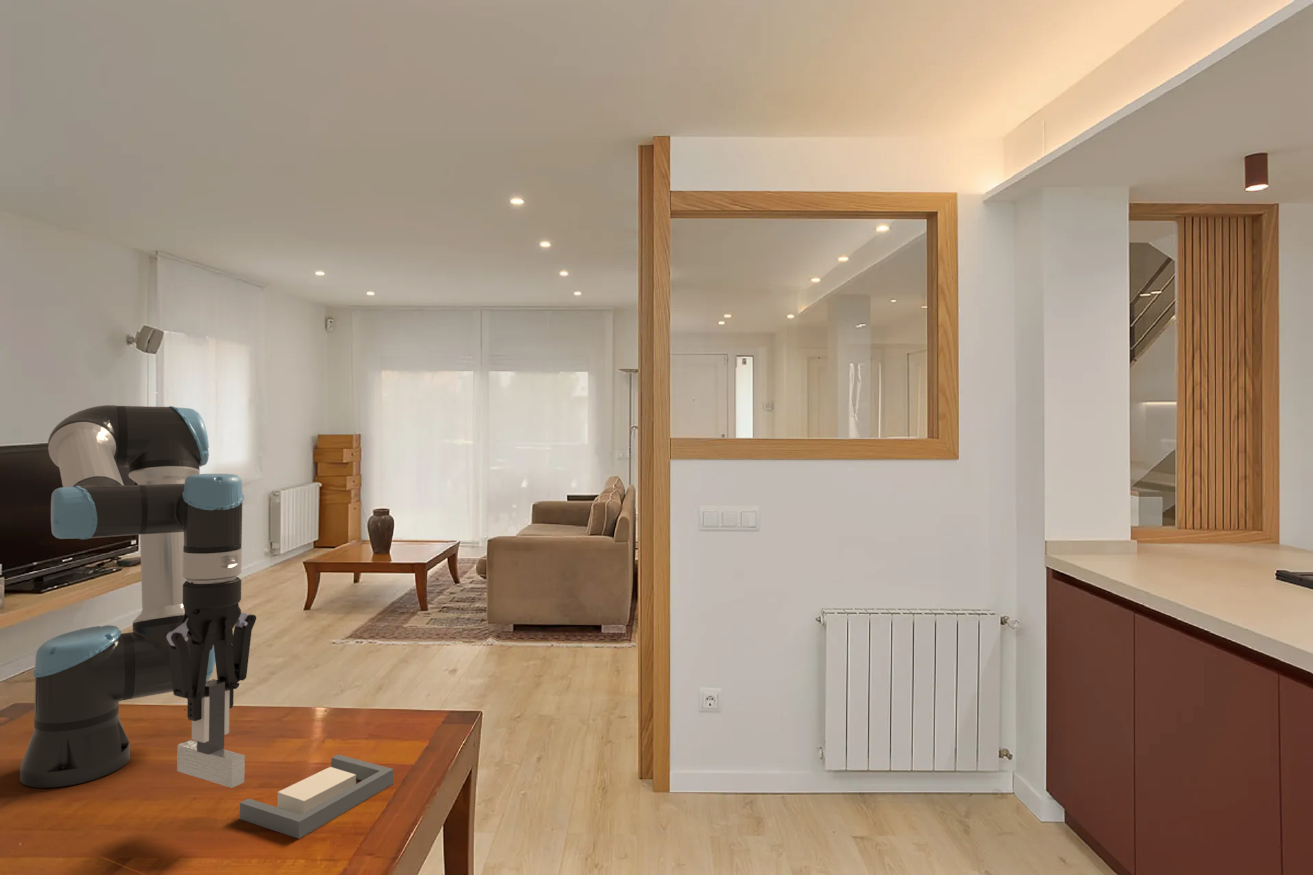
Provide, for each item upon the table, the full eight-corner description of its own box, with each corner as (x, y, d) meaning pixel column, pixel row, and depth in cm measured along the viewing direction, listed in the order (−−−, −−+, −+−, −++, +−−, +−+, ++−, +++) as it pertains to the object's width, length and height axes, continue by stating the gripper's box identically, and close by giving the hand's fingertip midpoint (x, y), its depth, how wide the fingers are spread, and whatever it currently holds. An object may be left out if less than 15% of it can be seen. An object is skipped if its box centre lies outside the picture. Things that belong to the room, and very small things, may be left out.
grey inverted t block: (175, 771, 114) (176, 679, 114) (191, 765, 116) (192, 674, 116) (230, 788, 109) (231, 691, 109) (245, 781, 112) (247, 686, 111)
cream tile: (277, 810, 119) (277, 791, 119) (330, 784, 128) (330, 766, 128) (303, 820, 116) (304, 800, 116) (355, 792, 125) (356, 774, 125)
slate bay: (239, 818, 116) (239, 802, 116) (338, 768, 133) (338, 754, 133) (299, 838, 110) (299, 821, 110) (393, 783, 128) (393, 768, 128)
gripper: (177, 590, 104) (175, 761, 104) (276, 572, 118) (273, 722, 118) (142, 585, 107) (140, 751, 107) (242, 567, 121) (240, 714, 121)
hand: (210, 735), depth 113 cm, fingers closed on grey inverted t block, 2 cm apart
